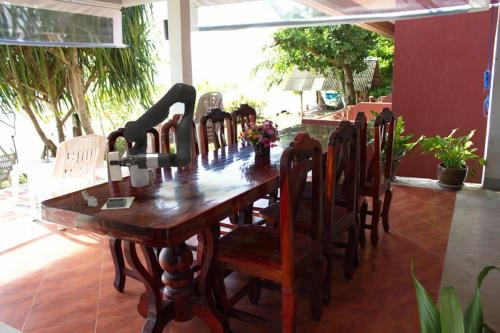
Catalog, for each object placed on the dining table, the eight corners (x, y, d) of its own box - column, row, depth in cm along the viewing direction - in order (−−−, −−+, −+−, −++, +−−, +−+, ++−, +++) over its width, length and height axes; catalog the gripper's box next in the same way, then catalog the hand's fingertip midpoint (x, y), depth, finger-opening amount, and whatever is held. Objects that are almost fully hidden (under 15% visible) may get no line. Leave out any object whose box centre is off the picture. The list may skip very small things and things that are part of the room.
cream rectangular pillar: (112, 179, 207) (107, 143, 203) (122, 178, 207) (117, 143, 203) (111, 181, 204) (106, 144, 200) (121, 180, 204) (116, 144, 200)
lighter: (98, 207, 199) (96, 190, 198) (95, 209, 198) (93, 191, 196) (85, 206, 202) (83, 189, 200) (82, 207, 200) (81, 190, 199)
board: (109, 200, 210) (108, 193, 210) (135, 199, 212) (134, 191, 211) (101, 211, 193) (100, 203, 192) (129, 210, 194) (128, 202, 193)
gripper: (149, 150, 211) (112, 151, 209) (146, 155, 197) (106, 157, 196) (150, 165, 213) (114, 167, 211) (147, 171, 199) (108, 173, 197)
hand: (110, 162), depth 203 cm, fingers closed on cream rectangular pillar, 2 cm apart
